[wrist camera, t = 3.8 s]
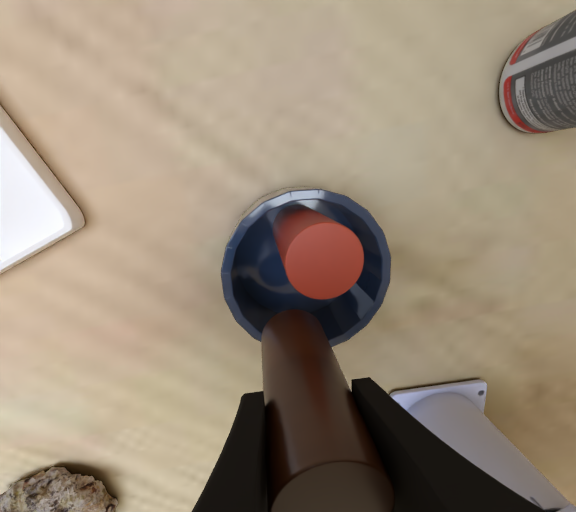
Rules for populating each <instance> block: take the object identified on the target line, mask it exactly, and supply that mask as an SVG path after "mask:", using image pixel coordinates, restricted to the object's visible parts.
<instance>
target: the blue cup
mask: <svg viewBox="0 0 576 512" xmlns="http://www.w3.org/2000/svg"><path fill="white" fill-rule="evenodd" d="M290 205H304V206H307V207H309V208H311V209H313V210H315V211H317V212H319V213H321V214H322V215H324V216H326V217H328V218H330V219H332V220H334V221H336V222H338V223H340V224H342V225H344V226H346V227H347V228H349V229H350V230H351V231H353V232H354V234H355V235H356V236H357V237H358V239H359V241H360V242H361V245H362V248H363V252H364V264H363V269H362V272H361V274H360V276H359V278H358V280H357V281H356V283H355V284H354V285H353V286H352V287H351V288H350V289H349V290H348V291H346V292H345V293H343V294H342V295H340V296H337V297H334V298H331V299H313V298H310V297H307V296H305V295H303V294H301V293H300V292H298V291H297V290H296V289H295V288H294V287H293V286H292V284H291V283H290V281H289V279H288V277H287V275H286V272H285V269H284V266H283V263H282V260H281V257H280V254H279V251H278V248H277V245H276V242H275V239H274V235H273V223H274V220H275V218H276V216H277V215H278V213H279V212H280V211H281V210H282V209H284V208H286V207H288V206H290ZM390 268H391V255H390V252H389V248H388V245H387V242H386V238H385V235H384V232H383V230H382V229H381V228H380V226H379V225H378V224H377V222H376V221H375V219H374V218H373V217H372V215H371V214H370V213H369V212H368V210H366V209H365V208H363V207H362V206H360V205H359V204H357V203H356V202H354V201H353V200H352V199H350V198H349V197H347V196H345V195H341V194H338V193H334V192H330V191H326V190H322V189H317V188H310V187H292V188H284V189H280V190H277V191H274V192H272V193H270V194H267V195H265V196H263V197H262V198H260V199H259V200H257V201H256V202H255V203H254V204H252V205H251V206H250V207H249V208H248V209H247V210H246V211H245V212H244V213H243V214H242V216H241V218H240V219H239V221H238V223H237V225H236V226H235V228H234V230H233V231H232V234H231V236H230V238H229V241H228V243H227V245H226V249H225V254H224V258H223V263H222V268H221V279H222V286H223V293H224V298H225V301H226V303H227V305H228V307H229V309H230V311H231V313H232V315H233V317H234V319H235V320H236V322H237V323H238V324H239V325H240V326H241V327H243V328H244V329H245V330H246V331H247V332H248V333H249V334H250V335H251V336H252V337H253V338H254V339H256V340H258V341H260V342H261V337H262V332H263V329H264V327H265V325H266V324H267V322H268V321H269V320H270V319H271V318H272V317H273V316H275V315H276V314H278V313H280V312H282V311H286V310H291V309H297V310H303V311H306V312H308V313H310V314H312V315H313V316H315V317H316V318H317V319H318V321H319V322H320V324H321V326H322V328H323V330H324V332H325V335H326V337H327V339H328V341H329V344H330V346H331V347H333V346H335V345H338V344H340V343H342V342H345V341H347V340H349V339H350V338H351V337H352V336H354V335H355V334H356V333H358V332H359V331H360V330H361V329H363V328H364V327H365V326H366V325H367V324H368V323H369V322H370V320H371V319H372V318H373V316H374V315H375V313H376V312H377V311H378V309H379V308H380V307H381V304H382V303H383V300H384V297H385V294H386V291H387V289H388V286H389V283H390Z"/></svg>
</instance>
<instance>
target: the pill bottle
mask: <svg viewBox="0 0 576 512" xmlns="http://www.w3.org/2000/svg"><path fill="white" fill-rule="evenodd" d="M499 99H500V105H501V108H502V111H503V113H504V115H505V117H506V119H507V120H508V121H509V122H510V123H511V124H512V125H513V126H514V127H516V128H517V129H519V130H521V131H524V132H528V133H546V132H551V131H556V130H562V129H568V128H574V127H576V10H575V11H573V12H571V13H569V14H568V15H566V16H564V17H562V18H560V19H558V20H556V21H555V22H553V23H551V24H549V25H547V26H545V27H543V28H541V29H540V30H538V31H536V32H535V33H533V34H531V35H530V36H528V37H527V38H526V39H525V40H523V41H522V42H521V43H520V44H519V45H518V46H517V47H516V49H515V50H514V51H513V53H512V54H511V56H510V57H509V59H508V61H507V63H506V65H505V67H504V70H503V72H502V75H501V79H500V85H499Z"/></svg>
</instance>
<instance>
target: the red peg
mask: <svg viewBox="0 0 576 512" xmlns="http://www.w3.org/2000/svg"><path fill="white" fill-rule="evenodd" d="M273 235H274V239H275V242H276V245H277V248H278V251H279V254H280V257H281V260H282V263H283V266H284V269H285V272H286V275H287V277H288V279H289V281H290V283H291V284H292V286H293V287H294V288H295V289H296V290H297V291H298V292H300V293H301V294H303V295H305V296H307V297H310V298H313V299H331V298H334V297H337V296H340V295H342V294H343V293H345V292H346V291H348V290H349V289H350V288H351V287H352V286H353V285H354V284H355V283H356V281H357V280H358V278H359V276H360V274H361V272H362V269H363V264H364V252H363V248H362V245H361V242H360V241H359V239H358V237H357V236H356V235H355V234H354V232H353V231H351V230H350V229H349V228H347V227H346V226H344V225H342V224H340V223H338V222H336V221H334V220H332V219H330V218H328V217H326V216H324V215H322V214H321V213H319V212H317V211H315V210H313V209H311V208H309V207H307V206H304V205H290V206H288V207H286V208H284V209H282V210H281V211H280V212H279V213H278V215H277V216H276V218H275V220H274V223H273Z"/></svg>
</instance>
